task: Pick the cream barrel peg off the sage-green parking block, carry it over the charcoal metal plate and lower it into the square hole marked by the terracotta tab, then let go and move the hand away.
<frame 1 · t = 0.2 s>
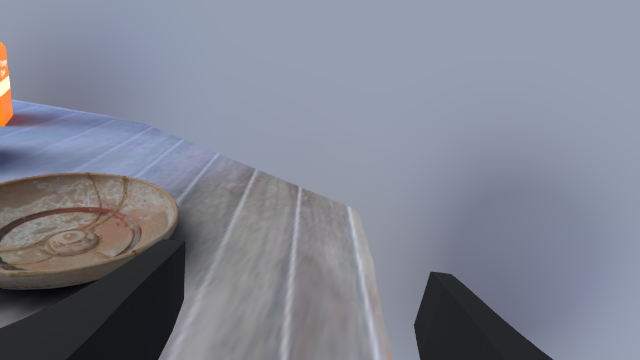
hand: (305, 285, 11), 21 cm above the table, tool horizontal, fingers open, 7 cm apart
brown shallow round bowl: (71, 248, 45), on the table
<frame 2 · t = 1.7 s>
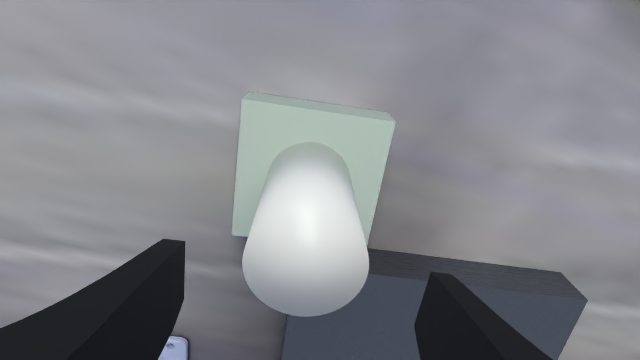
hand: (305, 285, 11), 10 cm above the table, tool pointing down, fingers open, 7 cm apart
barrel peg: (308, 181, 19), point 2 cm above the table, touching parking block
hole plate: (408, 334, 25), on the table
parking block: (309, 167, 20), on the table
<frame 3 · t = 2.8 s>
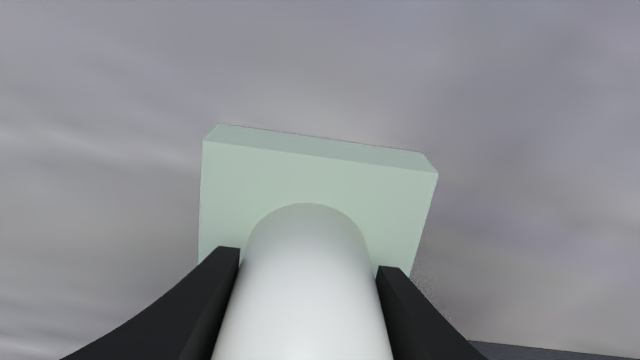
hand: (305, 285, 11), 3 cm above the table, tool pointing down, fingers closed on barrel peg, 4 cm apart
barrel peg: (306, 257, 13), point 2 cm above the table, touching gripper, parking block
parking block: (307, 227, 14), on the table
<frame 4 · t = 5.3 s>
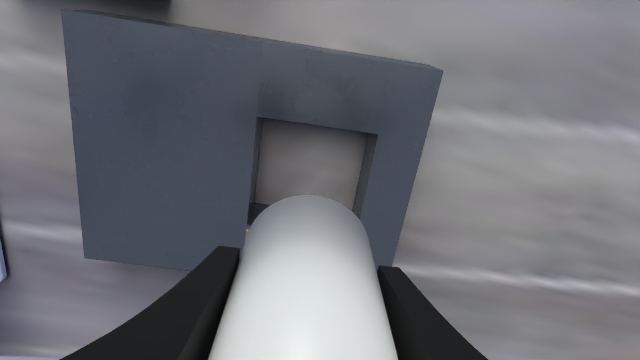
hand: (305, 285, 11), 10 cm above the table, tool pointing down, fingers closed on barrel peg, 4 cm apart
barrel peg: (307, 250, 12), point 9 cm above the table, touching gripper
hole plate: (254, 156, 21), on the table
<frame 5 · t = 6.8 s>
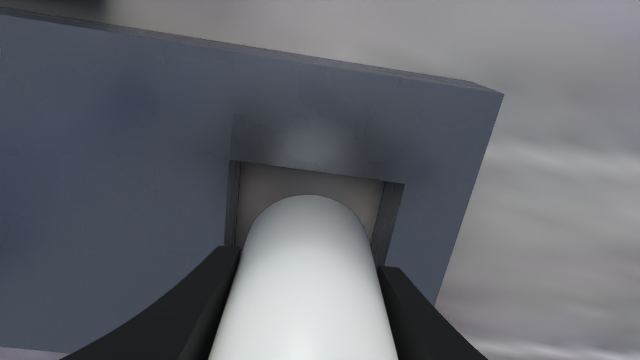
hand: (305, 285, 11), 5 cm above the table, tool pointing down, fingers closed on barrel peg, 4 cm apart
barrel peg: (307, 250, 12), point 3 cm above the table, touching gripper
hole plate: (232, 204, 15), on the table
when the fingers open (3 cm above the table, at t = 8.0 s): barrel peg drops 2 cm, resting in hole plate.
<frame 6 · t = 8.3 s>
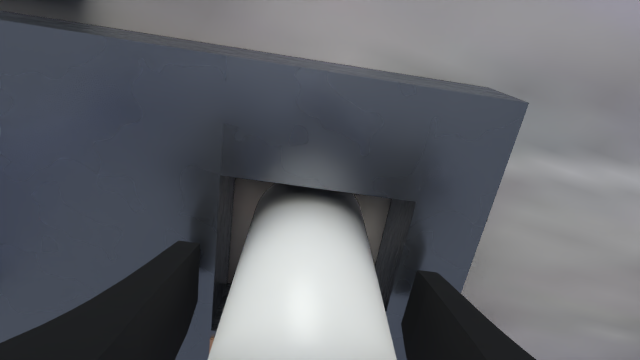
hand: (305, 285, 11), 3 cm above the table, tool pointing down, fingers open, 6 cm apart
barrel peg: (308, 224, 14), resting in hole plate
hole plate: (226, 219, 14), on the table
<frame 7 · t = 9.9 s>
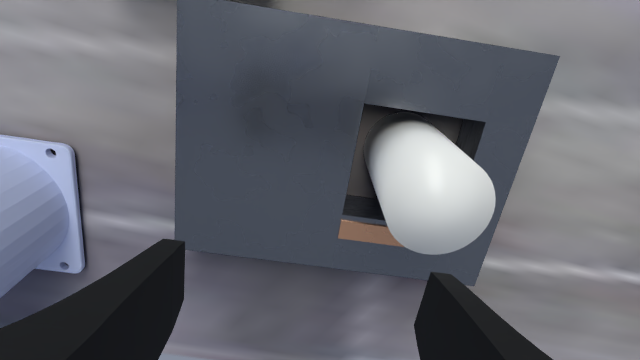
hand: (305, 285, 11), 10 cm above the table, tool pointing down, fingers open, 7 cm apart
barrel peg: (401, 149, 20), resting in hole plate
hole plate: (344, 145, 20), on the table
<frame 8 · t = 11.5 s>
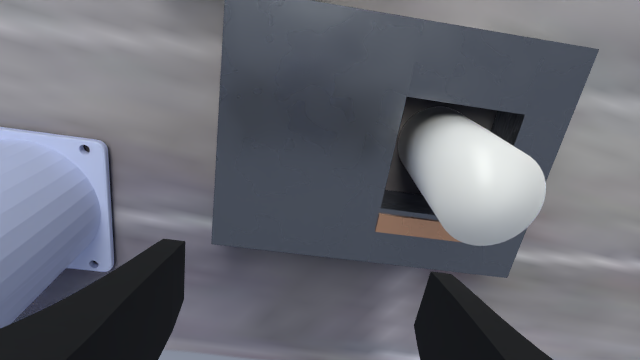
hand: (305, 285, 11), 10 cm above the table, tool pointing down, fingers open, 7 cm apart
barrel peg: (434, 143, 21), resting in hole plate
hole plate: (379, 140, 20), on the table
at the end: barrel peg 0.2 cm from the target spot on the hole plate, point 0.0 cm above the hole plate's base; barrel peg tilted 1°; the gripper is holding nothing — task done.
